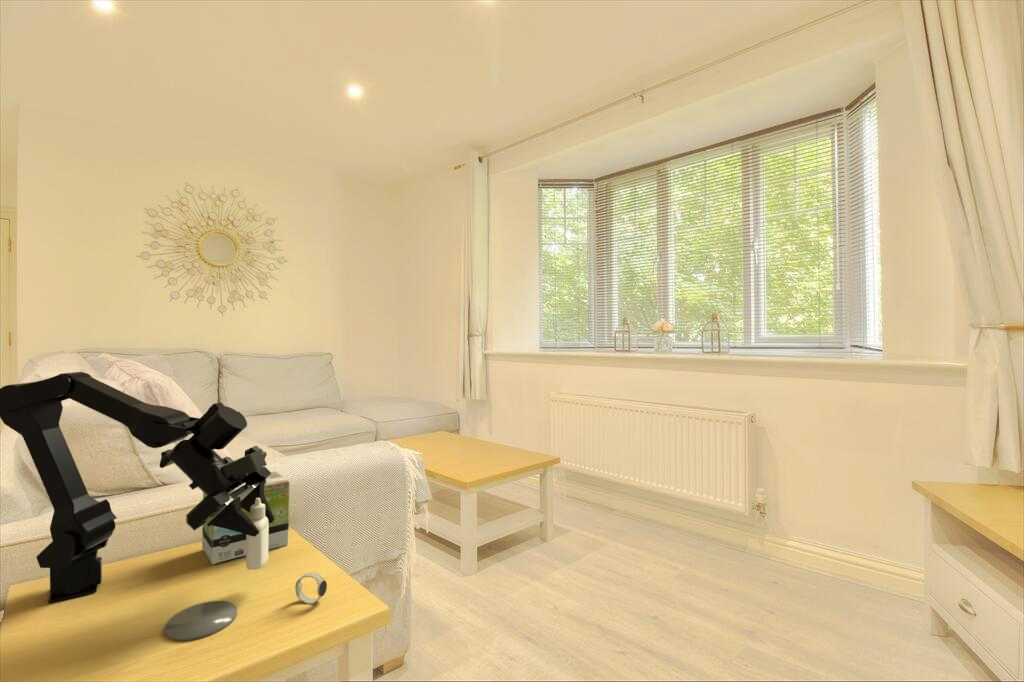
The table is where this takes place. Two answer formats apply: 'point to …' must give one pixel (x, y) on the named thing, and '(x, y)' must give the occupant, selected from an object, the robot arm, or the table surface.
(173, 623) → the charcoal coaster
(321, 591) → the wristwatch
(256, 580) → the table surface
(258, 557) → the eye dropper bottle
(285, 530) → the tea box
